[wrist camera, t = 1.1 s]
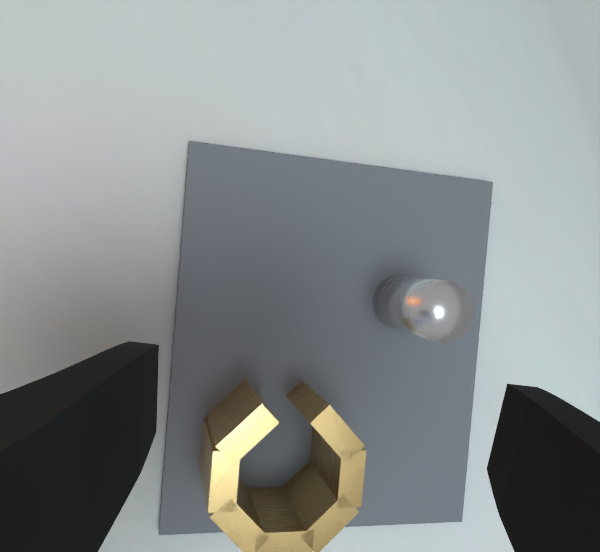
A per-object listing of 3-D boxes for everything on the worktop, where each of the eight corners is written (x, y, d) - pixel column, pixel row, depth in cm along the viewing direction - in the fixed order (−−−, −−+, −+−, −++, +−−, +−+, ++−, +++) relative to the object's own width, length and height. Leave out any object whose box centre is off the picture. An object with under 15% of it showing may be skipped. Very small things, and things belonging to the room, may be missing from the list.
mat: (457, 517, 25) (461, 521, 24) (158, 529, 21) (159, 534, 21) (487, 183, 24) (492, 181, 24) (189, 143, 21) (189, 141, 21)
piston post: (418, 329, 23) (470, 344, 19) (370, 326, 23) (414, 342, 19) (423, 277, 23) (476, 283, 19) (375, 273, 23) (420, 278, 19)
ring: (326, 507, 23) (357, 554, 19) (196, 511, 21) (203, 562, 18) (337, 381, 22) (370, 405, 19) (207, 377, 21) (216, 402, 18)
